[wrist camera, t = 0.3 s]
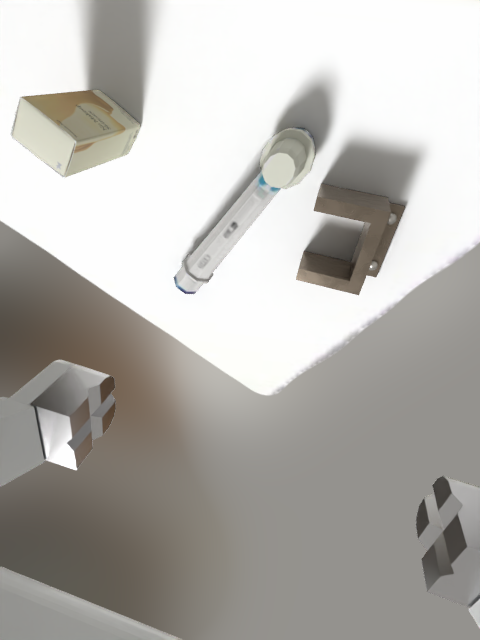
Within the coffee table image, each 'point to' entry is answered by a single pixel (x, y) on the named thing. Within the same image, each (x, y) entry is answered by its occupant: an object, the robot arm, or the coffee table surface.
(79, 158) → the skincare box
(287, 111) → the coffee table surface
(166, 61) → the coffee table surface
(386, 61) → the coffee table surface
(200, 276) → the white handheld device
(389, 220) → the bracket
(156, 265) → the coffee table surface
